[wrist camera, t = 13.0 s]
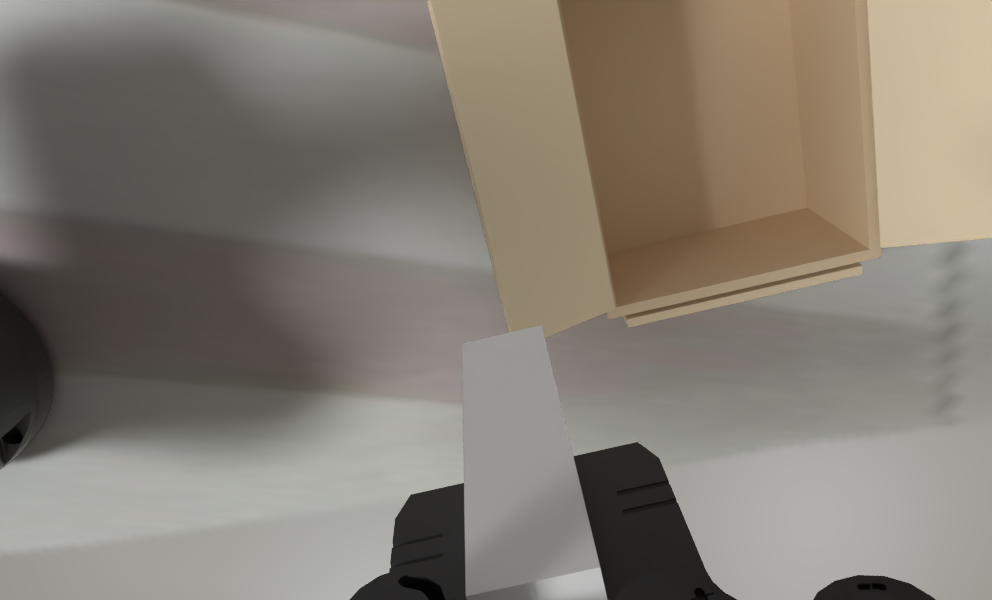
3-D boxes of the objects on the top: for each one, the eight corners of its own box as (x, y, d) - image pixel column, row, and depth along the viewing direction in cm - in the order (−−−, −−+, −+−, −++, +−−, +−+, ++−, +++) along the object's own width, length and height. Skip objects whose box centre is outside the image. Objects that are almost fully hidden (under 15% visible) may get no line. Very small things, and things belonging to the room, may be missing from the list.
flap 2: (860, -108, 37) (1014, -145, 35) (879, 244, 44) (1011, 232, 41) (861, -108, 37) (1016, -145, 34) (880, 247, 43) (1013, 236, 41)
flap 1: (610, 306, 44) (512, 347, 42) (545, -30, 38) (426, 0, 36) (615, 308, 44) (516, 350, 42) (550, -31, 37) (430, 0, 35)
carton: (586, 276, 53) (610, 332, 45) (518, -61, 46) (532, -68, 38) (816, 223, 53) (883, 270, 44) (786, -128, 45) (861, -150, 37)
